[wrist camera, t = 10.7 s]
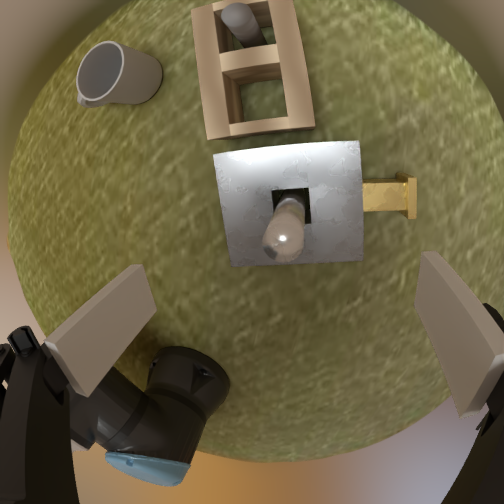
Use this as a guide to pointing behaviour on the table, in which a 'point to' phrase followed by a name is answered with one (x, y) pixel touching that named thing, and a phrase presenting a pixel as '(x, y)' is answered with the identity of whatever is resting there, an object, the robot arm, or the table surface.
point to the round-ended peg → (286, 227)
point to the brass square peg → (391, 194)
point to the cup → (117, 76)
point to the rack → (249, 65)
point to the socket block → (288, 177)
